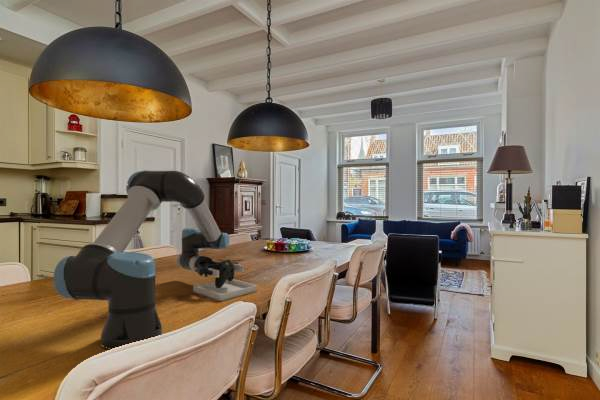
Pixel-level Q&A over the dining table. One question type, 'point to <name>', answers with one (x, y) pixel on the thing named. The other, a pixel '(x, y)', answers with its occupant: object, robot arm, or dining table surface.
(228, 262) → the gaming controller
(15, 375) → the dining table surface
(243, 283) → the tray
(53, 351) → the dining table surface
